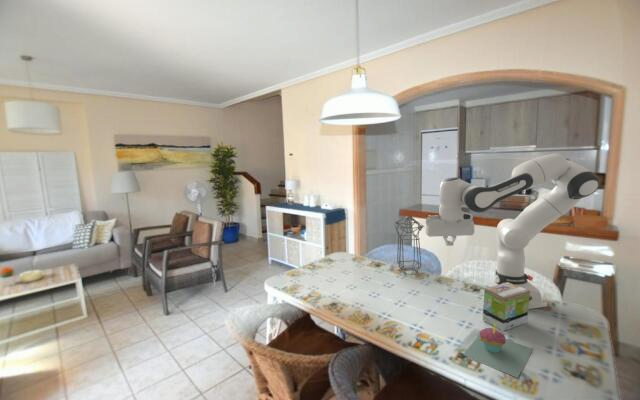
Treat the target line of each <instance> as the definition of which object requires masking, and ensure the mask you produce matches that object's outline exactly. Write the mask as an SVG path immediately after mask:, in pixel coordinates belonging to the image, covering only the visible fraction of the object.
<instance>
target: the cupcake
mask: <svg viewBox="0 0 640 400" xmlns="http://www.w3.org/2000/svg"><path fill="white" fill-rule="evenodd" d="M478 336H479V337H480V340H481V341H483V343H484V345H485V348H486V349H487V350H488V351H490V352H494V353H497V352H499V351H500V349H501V347H502V346H503V345H504V344H505V343H506V339H507V338H506V336H505V335H504V334H503V333H502V332H501V331H499V329H497V328H496V321H495V322H494V326H493V328H492V327H484V328H482V329H481V330H480V331H479V332H478Z"/></svg>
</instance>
